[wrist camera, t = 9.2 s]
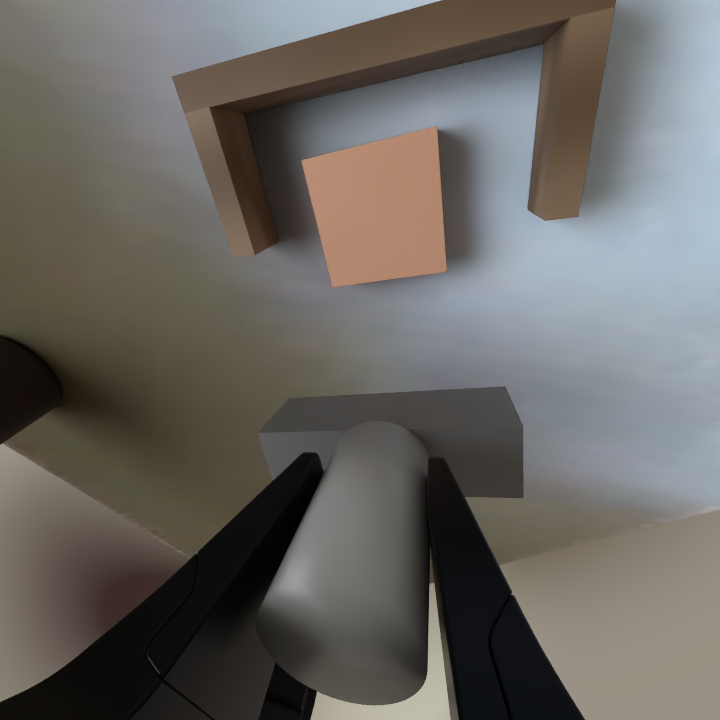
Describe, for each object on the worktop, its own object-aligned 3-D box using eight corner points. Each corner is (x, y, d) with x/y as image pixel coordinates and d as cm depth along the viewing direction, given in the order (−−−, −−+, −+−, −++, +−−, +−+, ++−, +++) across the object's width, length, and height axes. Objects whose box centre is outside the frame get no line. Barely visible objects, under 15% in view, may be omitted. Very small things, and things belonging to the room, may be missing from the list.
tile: (445, 258, 15) (446, 271, 14) (342, 273, 17) (332, 287, 15) (436, 129, 13) (436, 126, 11) (317, 159, 14) (301, 160, 12)
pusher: (506, 454, 12) (601, 752, 5) (303, 455, 14) (174, 668, 7) (504, 378, 11) (618, 617, 4) (287, 391, 13) (120, 565, 6)
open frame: (555, 206, 13) (578, 216, 11) (259, 243, 16) (233, 257, 14) (584, -9, 10) (624, -51, 8) (213, 88, 13) (171, 76, 11)
